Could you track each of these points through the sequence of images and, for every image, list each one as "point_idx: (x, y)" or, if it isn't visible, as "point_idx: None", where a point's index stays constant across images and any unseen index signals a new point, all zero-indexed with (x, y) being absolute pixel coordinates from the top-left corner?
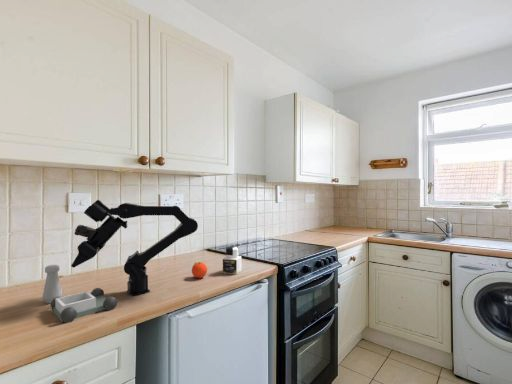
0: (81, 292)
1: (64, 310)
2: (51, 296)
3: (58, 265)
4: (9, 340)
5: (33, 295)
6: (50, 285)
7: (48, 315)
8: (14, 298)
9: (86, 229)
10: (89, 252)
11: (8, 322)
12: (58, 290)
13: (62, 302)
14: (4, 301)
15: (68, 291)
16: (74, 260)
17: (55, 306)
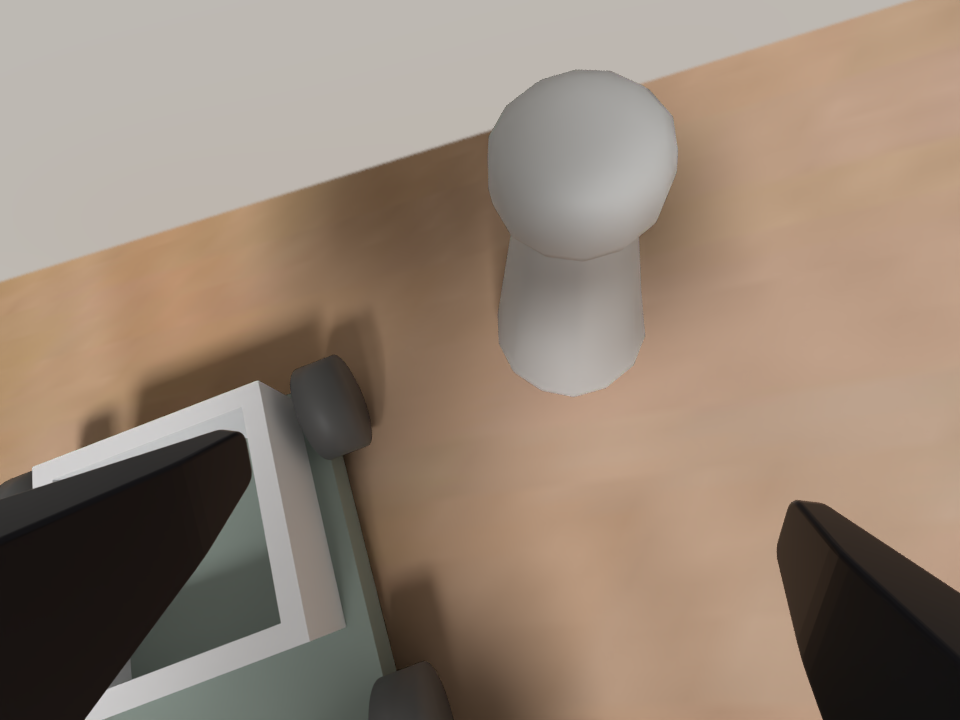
0: (293, 587)
1: (7, 487)
2: (499, 327)
3: (629, 204)
4: (59, 278)
5: (796, 181)
6: (506, 273)
7: (280, 377)
8: (765, 90)
9: None
10: None
11: (302, 202)
12: (527, 359)
13: (120, 451)
14: (717, 60)
15: (818, 422)
16: (63, 481)
17: (289, 398)
